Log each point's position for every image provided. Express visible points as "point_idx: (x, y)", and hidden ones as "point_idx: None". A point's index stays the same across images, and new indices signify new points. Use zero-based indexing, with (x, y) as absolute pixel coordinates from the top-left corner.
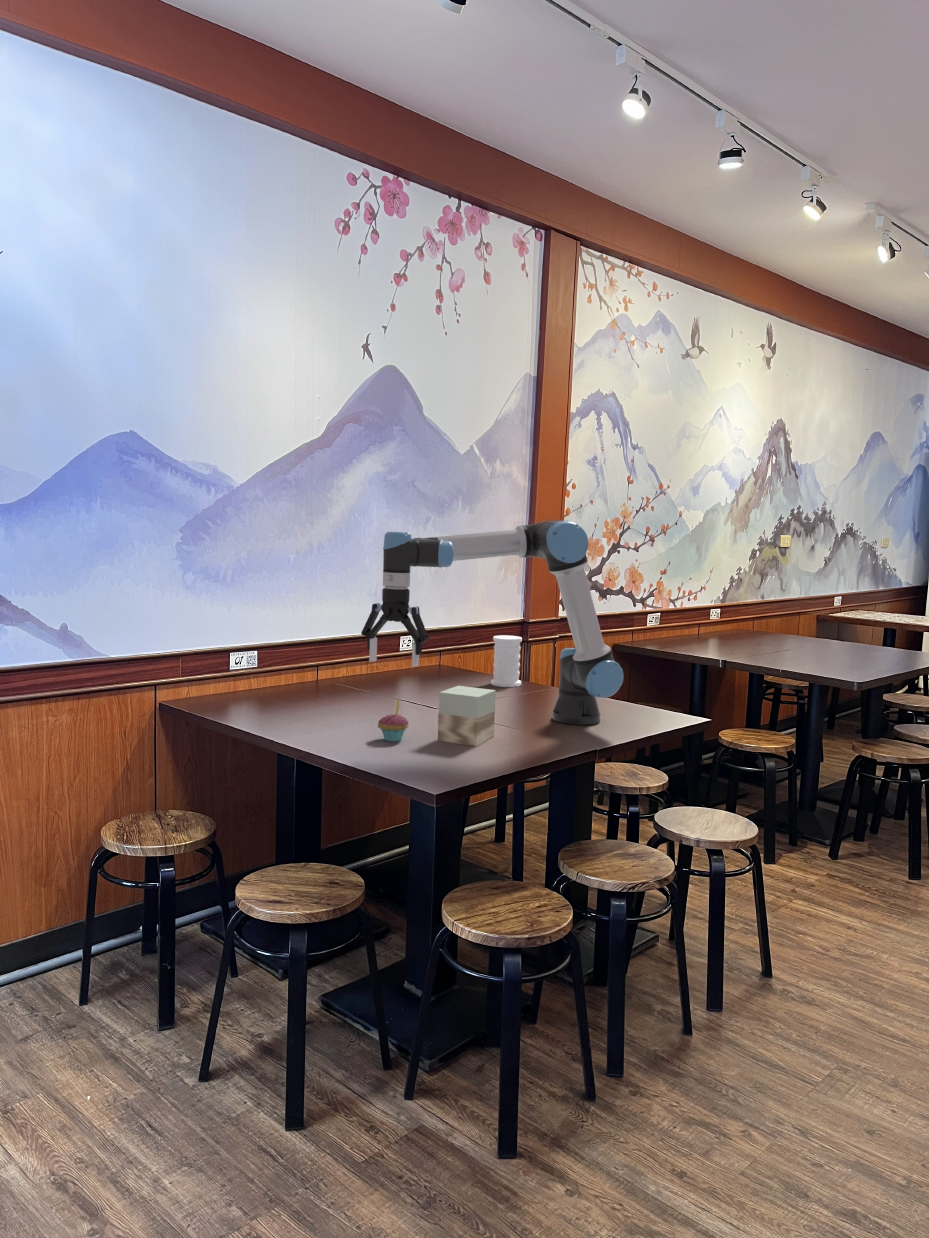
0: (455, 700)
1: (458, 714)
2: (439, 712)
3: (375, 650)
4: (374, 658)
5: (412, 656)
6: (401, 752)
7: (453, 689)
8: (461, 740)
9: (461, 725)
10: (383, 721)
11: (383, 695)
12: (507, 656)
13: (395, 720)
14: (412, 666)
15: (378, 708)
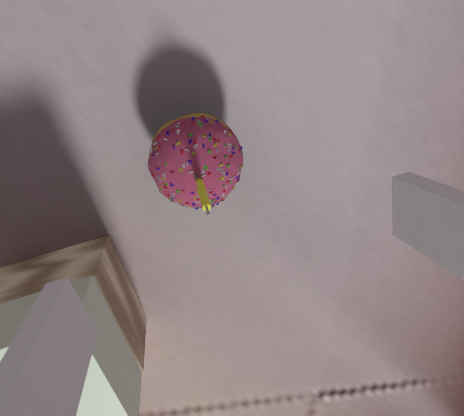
0: (9, 331)
1: (15, 301)
2: (90, 277)
3: (453, 255)
4: (406, 218)
5: (33, 337)
6: (57, 59)
7: (90, 390)
8: (35, 260)
9: (19, 284)
10: (201, 122)
11: (452, 378)
12: None
13: (167, 146)
14: (60, 280)
15: (405, 316)
